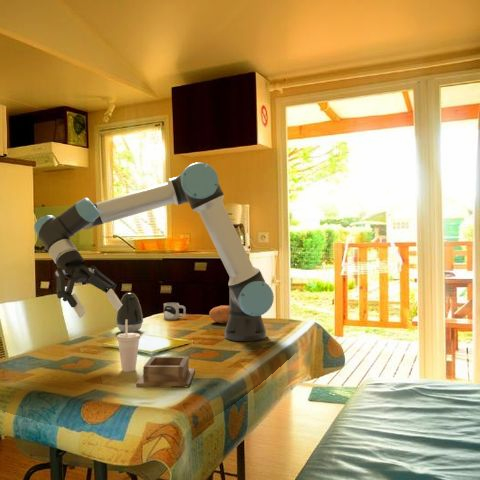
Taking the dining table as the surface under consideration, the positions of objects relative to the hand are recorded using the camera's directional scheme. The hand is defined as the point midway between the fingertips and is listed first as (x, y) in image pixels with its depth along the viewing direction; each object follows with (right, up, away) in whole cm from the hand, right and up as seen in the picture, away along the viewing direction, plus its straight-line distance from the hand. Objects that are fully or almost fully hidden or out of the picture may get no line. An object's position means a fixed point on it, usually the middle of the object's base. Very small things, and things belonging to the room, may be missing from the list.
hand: (102, 311), depth 135 cm
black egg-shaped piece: (-3, -15, +47) cm, 50 cm away
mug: (+10, -15, +76) cm, 78 cm away
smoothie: (+9, -16, -5) cm, 19 cm away
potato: (+32, -15, +65) cm, 74 cm away
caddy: (+21, -16, -13) cm, 29 cm away
